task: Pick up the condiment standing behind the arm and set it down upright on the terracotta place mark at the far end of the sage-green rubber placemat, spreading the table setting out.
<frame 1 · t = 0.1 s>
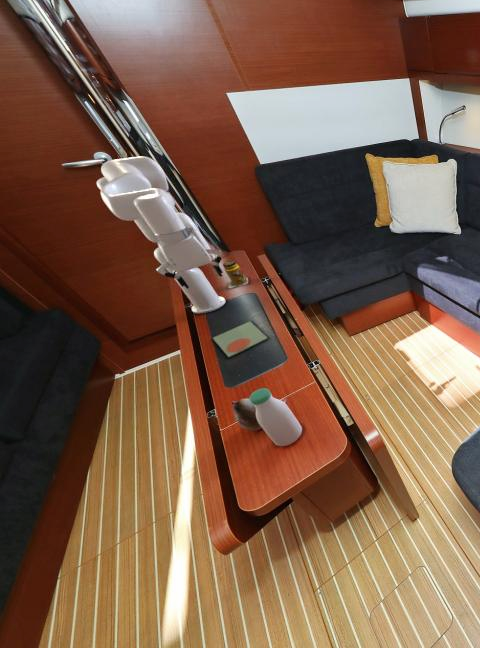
hand: (204, 281, 113), 31 cm above the table, tool pointing down, fingers open, 9 cm apart
condiment: (238, 283, 170), on the table
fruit: (262, 421, 104), on the table
placemat: (240, 338, 135), on the table
milk bottle: (289, 435, 100), on the table
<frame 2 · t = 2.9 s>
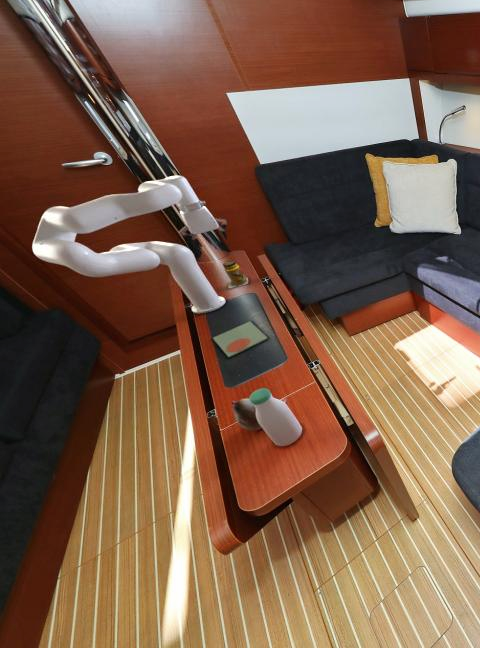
hand: (213, 242, 151), 25 cm above the table, tool pointing down, fingers open, 9 cm apart
nothing on the table moved.
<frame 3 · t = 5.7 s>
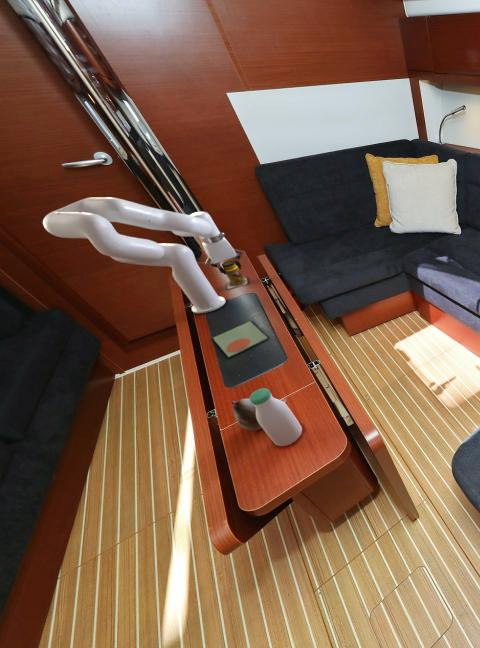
hand: (232, 270, 166), 7 cm above the table, tool pointing down, fingers closed on condiment, 6 cm apart
condiment: (237, 283, 170), on the table, touching gripper
everything else where it was.
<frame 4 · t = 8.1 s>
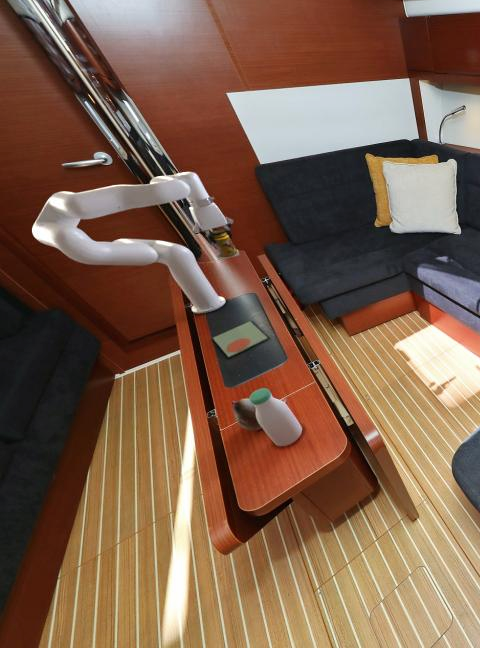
hand: (222, 240, 153), 25 cm above the table, tool pointing down, fingers closed on condiment, 6 cm apart
condiment: (228, 255, 157), point 18 cm above the table, touching gripper
everything else where it was.
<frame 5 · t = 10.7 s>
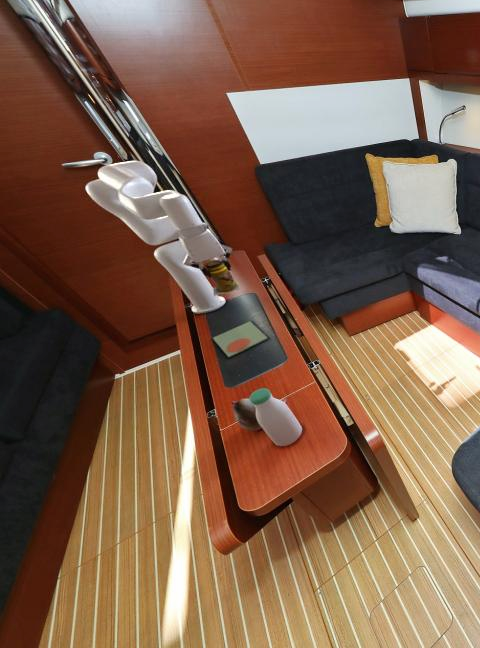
hand: (219, 272, 128), 26 cm above the table, tool pointing down, fingers closed on condiment, 6 cm apart
condiment: (226, 289, 132), point 18 cm above the table, touching gripper
everything else where it was.
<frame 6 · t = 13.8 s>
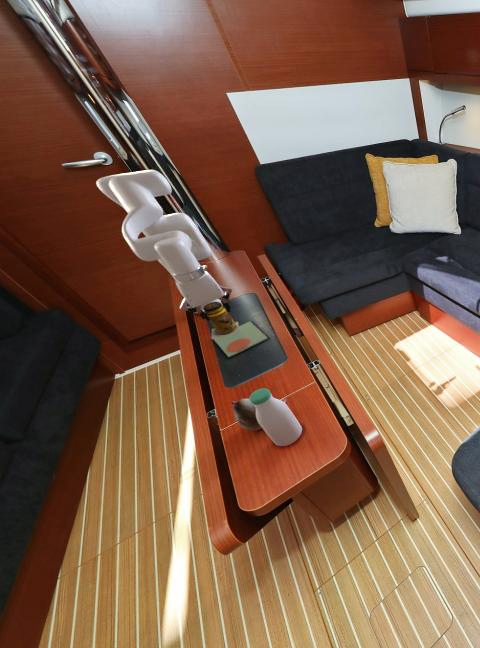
hand: (217, 314, 122), 16 cm above the table, tool pointing down, fingers closed on condiment, 6 cm apart
condiment: (225, 331, 126), point 9 cm above the table, touching gripper
everything else where it was.
when the fingers open (8 cm above the table, at t = 16.1 s): condiment stays where it is, resting on placemat.
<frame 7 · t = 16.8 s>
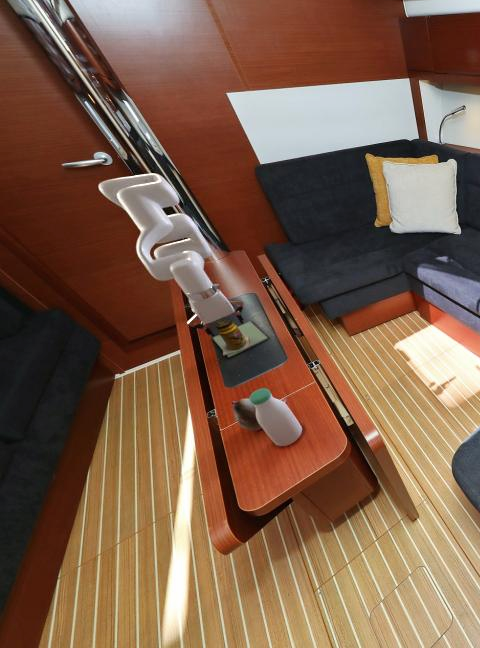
hand: (227, 328, 126), 9 cm above the table, tool pointing down, fingers open, 9 cm apart
condiment: (236, 346, 131), point 1 cm above the table, touching placemat
everything else where it was.
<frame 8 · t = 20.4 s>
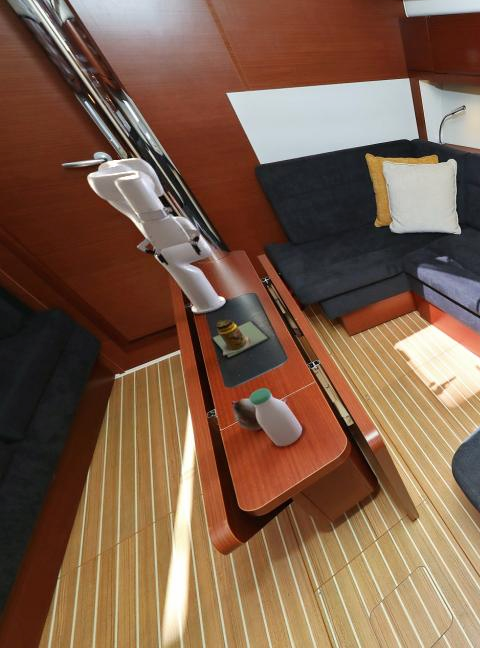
hand: (183, 258, 122), 33 cm above the table, tool pointing down, fingers open, 9 cm apart
nothing on the table moved.
at the end: condiment 0.9 cm from the target spot on the placemat, point 0.5 cm above the placemat's base; condiment tilted 0°; condiment moved 57.8 cm from its start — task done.
